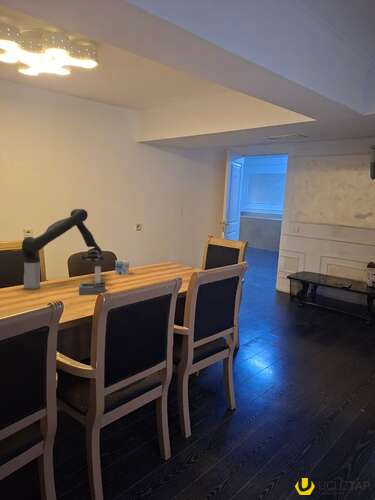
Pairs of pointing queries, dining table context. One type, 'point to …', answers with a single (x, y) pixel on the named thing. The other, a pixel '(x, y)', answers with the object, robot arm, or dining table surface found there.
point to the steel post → (97, 274)
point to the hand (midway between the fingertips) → (92, 259)
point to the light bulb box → (122, 267)
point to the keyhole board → (92, 288)
